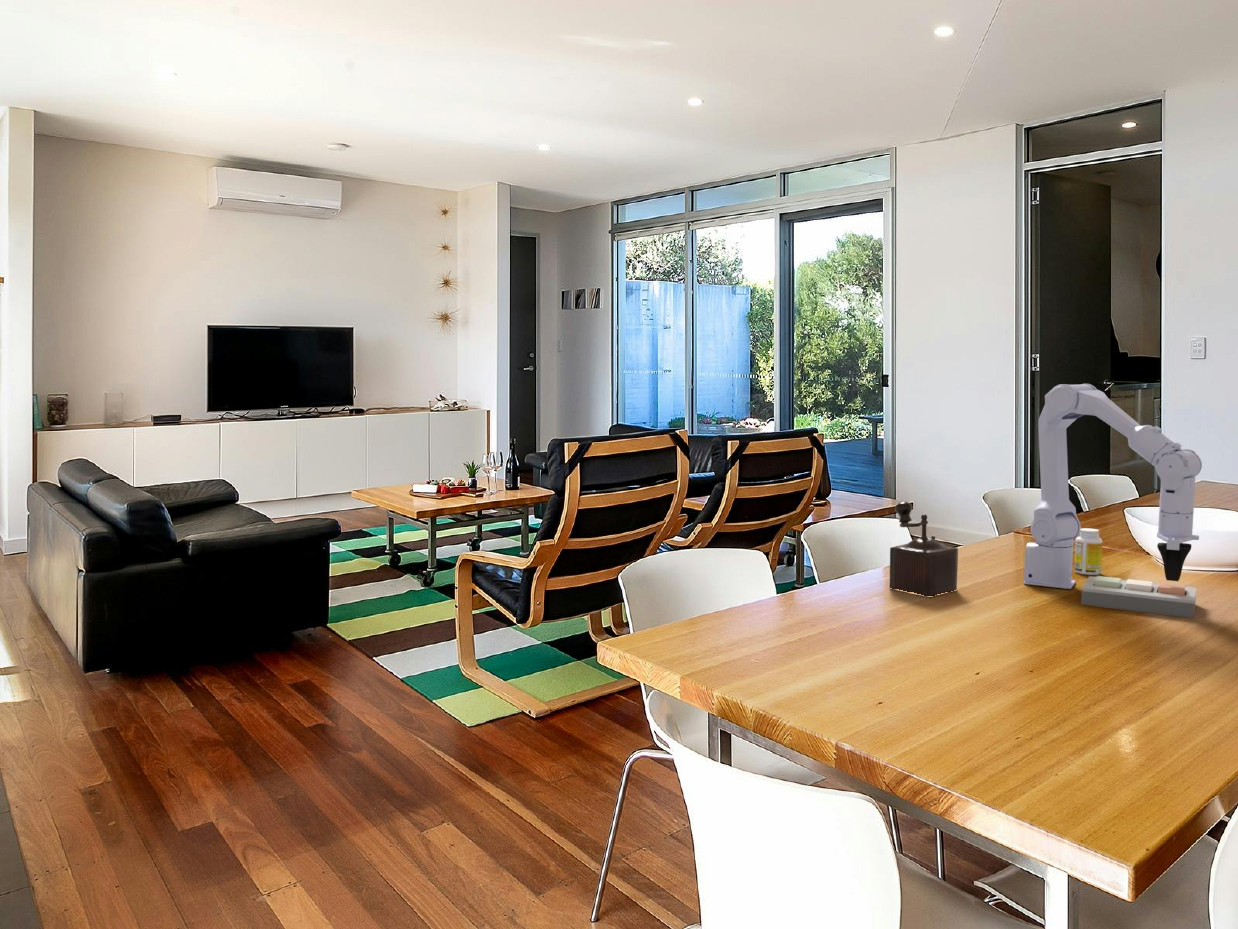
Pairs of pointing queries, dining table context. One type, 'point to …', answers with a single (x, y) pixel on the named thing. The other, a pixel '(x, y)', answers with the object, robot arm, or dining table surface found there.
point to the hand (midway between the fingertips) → (1172, 580)
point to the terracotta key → (1171, 589)
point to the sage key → (1107, 582)
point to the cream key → (1139, 585)
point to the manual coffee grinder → (922, 561)
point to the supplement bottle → (1088, 552)
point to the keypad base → (1139, 599)
